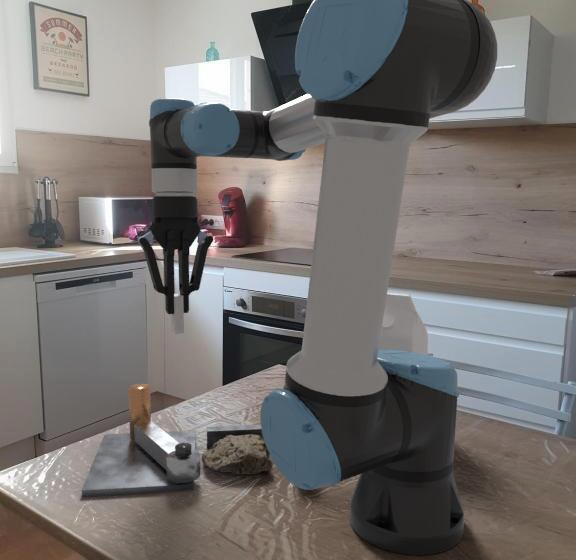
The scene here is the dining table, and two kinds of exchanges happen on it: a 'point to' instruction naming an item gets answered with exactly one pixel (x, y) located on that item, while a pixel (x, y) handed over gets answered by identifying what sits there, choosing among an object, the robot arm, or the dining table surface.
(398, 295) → the milk
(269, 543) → the dining table surface
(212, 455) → the rock
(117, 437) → the cracker base
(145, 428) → the lever
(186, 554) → the dining table surface
